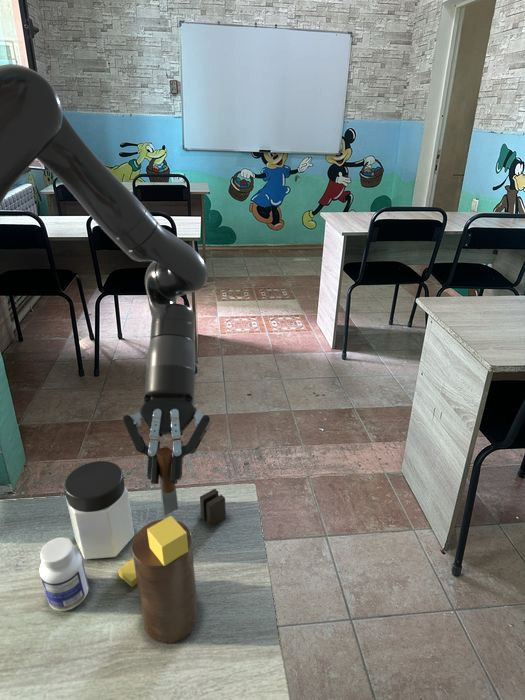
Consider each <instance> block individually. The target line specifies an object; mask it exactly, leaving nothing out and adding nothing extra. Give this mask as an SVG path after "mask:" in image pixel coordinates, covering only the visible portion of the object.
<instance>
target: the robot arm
mask: <svg viewBox="0 0 525 700" xmlns="http://www.w3.org/2000/svg"><path fill="white" fill-rule="evenodd" d="M36 160H37V161H39V162H40V163H41V164H42V165H43V166H45V167H46V168H47V169H48V170H49V172H51V173H52V174H53V175H54V176H55V177H56V178H57V179H58V180H59V181H60V182H61V183H62V184H63V185H64V187H66V188H67V190H68V191H69V192H70V193H71V194H72V195H73V197H74V199H76V200H77V201H78V203H79V204H80V205H81V206H82V208H83V209H84V211H86V212H87V214H88V215H89V216H90V218H92V219H93V221H94V222H95V223H96V224H97V225H98V226H99V228H100V229H101V230H102V231H103V233H105V234H106V235H107V236H108V237H109V238H110V239H111V240H112V241H113V243H114V244H116V246H118V247H119V248H120V249H121V250H122V251H123V252H124V253H125V255H126V256H127V257H129V258H130V259H131V260H133V261H135V262H151V263H150V264H149V266H147V269H146V272H145V275H144V287H145V293H146V297H147V301H148V307H149V311H150V316H151V323H150V336H149V337H150V338H149V340H150V341H149V346H148V349H147V355H146V367H145V368H146V369H145V383H144V395H143V397H144V398H143V403H142V405H141V406H140V408H139V411H138V412H135V413H134V414H130V415H125V416H124V417H123V418H122V421H123V423H124V425H125V428H126V430H127V432H128V435H129V437H130V439H131V441H132V444H133V446H134V449H135V450H136V451H137V452H138V453H140V454H143V455H145V456H147V469H146V477H147V480H149V481H150V484H152V485H159V484H160V478H159V470H158V461H157V450H158V449H160V448H162V447H161V446H162V443H163V440H164V439H163V438H164V435H171V441H172V457H171V477H170V483H171V484H175V485H178V481H180V480H181V479H182V477H183V464H184V461H183V460H184V458H185V457H186V456H188V455H191V454H195V452H196V451H197V449H198V448H199V446H200V444H201V442H202V441H203V439H204V437H205V435H206V434H207V431H208V429H209V428H210V427H211V425H212V419H211V417H210V416H209V415H207V414H203V413H201V412H199V411H198V409H197V406H195V382H196V381H195V380H196V379H195V378H196V370H197V363H196V349H195V347H196V345H195V344H196V343H195V342H196V341H195V340H196V315H195V312H194V310H193V309H192V308H191V307H190V306H188V305H186V304H182V303H177V301H178V298H180V297H182V296H185V295H189V294H192V293H195V292H198V291H200V290H202V289H203V288H204V286H205V285H206V284H207V282H208V278H209V277H208V276H209V271H208V267H207V264H206V262H205V261H204V259H203V257H202V256H201V254H199V252H197V251H196V249H194V248H193V247H192V246H190V244H188V243H187V242H185V241H183V240H182V239H181V238H179V237H178V236H176V235H175V234H174V233H172V232H171V231H169V230H168V229H165V227H164V226H162V225H161V224H160V223H159V222H158V221H157V219H156V218H155V217H154V216H153V215H152V213H151V212H150V211H149V210H148V209H147V208H146V207H145V206H144V204H142V202H141V201H140V200H139V199H138V197H137V196H135V195H134V193H132V192H131V191H130V189H129V188H128V187H127V186H126V185H125V184H124V183H123V182H122V181H121V180H120V179H119V178H118V177H117V176H116V175H115V174H113V172H112V171H110V169H108V167H107V166H106V165H105V164H104V163H103V162H102V161H101V160H100V159H99V158H98V156H97V155H96V154H95V153H94V152H93V151H92V150H91V149H90V147H89V146H88V145H87V144H86V143H85V141H84V140H83V139H82V138H81V136H80V135H79V134H78V132H77V131H76V130H75V128H74V127H73V125H72V124H71V122H70V121H69V119H68V118H67V116H66V114H65V113H64V112H63V106H62V102H61V100H60V97H59V94H58V93H57V91H56V89H55V88H54V86H53V85H52V84H51V83H50V82H49V81H48V80H47V78H45V77H44V76H43V75H42V74H40V73H38V72H37V71H35V70H34V69H31V68H30V67H27V66H23V65H20V64H15V63H14V64H13V63H8V64H1V65H0V206H1V205H2V203H3V201H4V200H5V198H6V196H7V195H8V193H9V192H10V190H11V189H12V187H13V186H14V185H15V184H16V183H17V181H18V180H19V179H20V178H21V177H22V176H23V174H25V172H26V171H27V170H28V169H29V168H30V166H31V165H32V164H33V163H34V162H35V161H36ZM142 419H143V420H144V422H145V423H146V425H147V426H148V428H149V430H150V433H149V443H148V445H147V444H146V441H145V439H144V437H143V435H142V433H141V431H140V428H141V427H142ZM193 420H194V426H195V429H194V431H193V433H192V434H191V436H190V438H189V440H188V442H187V443H186V444H185V445H184V440H185V439H184V432H185V430H186V429H187V427H188V426H189V425H190V424H191V422H192V421H193Z"/></svg>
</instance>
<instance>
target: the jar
mask: <svg viewBox="0 0 525 700" xmlns="http://www.w3.org/2000/svg"><path fill="white" fill-rule="evenodd" d="M124 479H125V478H124V473H123V470H122V468H121V467H120V466H119V464H116V463H114V462H113V461H112V462H111V461H108V460H95V461H91V462H87V463H84V464H82V465H79V466H78V467H77V468H74V469H73V470H72V471H71V472H70V473H69V474H68V475H67V477H66V478H65V481H64V485H63V488H64V497H65V500H66V505H67V510H68V513H69V519H70V522H71V527H72V531H73V536H74V539H75V542H76V544H77V547H78V549H79V550H80V551H79V552H80V554H81V556H82V558H83V559H84V560H94V559H95V560H96V559H108V558H116V557H117V556H118V555H119V554H120V553H121V551H122V550H123V549H124V548H125V547H126V545H128V544H129V542H130V541H131V540H133V539H134V537H135V529H134V522H133V515H132V510H131V505H130V503H131V502H130V497H129V490H128V489H127V487H126V485H125V480H124Z"/></svg>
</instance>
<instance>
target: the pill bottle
mask: <svg viewBox="0 0 525 700" xmlns="http://www.w3.org/2000/svg"><path fill="white" fill-rule="evenodd" d="M39 555H40V561H41V563H40V565H39V570H38V571H39V576H40V580H41V583H42V587H43V589H44V592H45V596H46V599H47V602H48V604H49V606H50V607H51V608H52V609H53V610H54V611H59V612H67V611H70V610H73V609H75V608H76V607H78V606H79V605H80V604H82V602H83V601H84V600H85V599H86V597H87V595H88V592H89V581H88V577H87V573H86V570H85V565H84V561H83V556H82V553H81V552H80V551H79V550H78V549H76V548H75V547H74V544H73V541H72V540H71V539H69V538H67V537H61V536H60V537H55V538H53V539H51V540H49V541H48V542H46V543H45V544H44V545H43V547H42V548H41V550H40V553H39Z"/></svg>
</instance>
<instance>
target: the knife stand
mask: <svg viewBox="0 0 525 700" xmlns="http://www.w3.org/2000/svg"><path fill="white" fill-rule="evenodd" d="M199 504H200V506H199V507H200V518H201V519H202V520H203V521H204V522H205V521H207V525H208V526H209V527H210V528H212V527H214V526H215V525H217V524H219V523H221V522H222V521H225V520H226V519H227V514H226V497H225V496H224V495H223V494H220V495H219V490H218V489H217V488H212V489H210V491H208V492H206V493H204V494H202V495H200V496H199Z"/></svg>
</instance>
